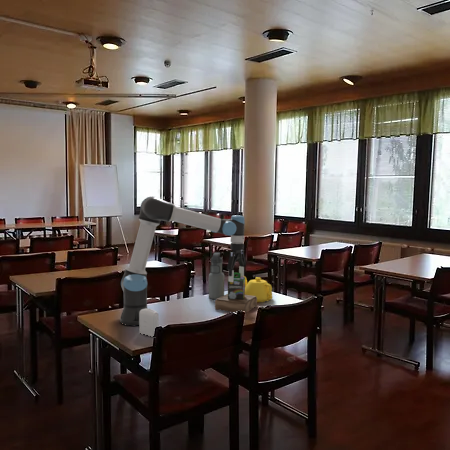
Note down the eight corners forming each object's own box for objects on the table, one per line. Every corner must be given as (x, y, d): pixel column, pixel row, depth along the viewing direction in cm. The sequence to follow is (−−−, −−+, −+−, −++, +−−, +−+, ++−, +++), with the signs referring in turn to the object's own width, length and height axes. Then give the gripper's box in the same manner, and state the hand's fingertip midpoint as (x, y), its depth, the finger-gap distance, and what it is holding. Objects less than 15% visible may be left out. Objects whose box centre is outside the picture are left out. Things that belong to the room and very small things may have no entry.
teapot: (231, 297, 287) (232, 276, 286) (250, 293, 300) (250, 272, 298) (262, 305, 270) (263, 282, 268) (281, 300, 282) (281, 278, 281)
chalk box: (245, 296, 267) (245, 270, 265) (243, 300, 257) (244, 273, 256) (229, 295, 268) (229, 270, 266) (227, 299, 259) (227, 273, 257)
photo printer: (137, 333, 215) (137, 308, 214) (144, 331, 219) (144, 306, 218) (153, 338, 209) (153, 311, 208) (160, 336, 213) (160, 309, 212)
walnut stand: (244, 313, 251) (244, 303, 251) (215, 309, 259) (215, 298, 259) (256, 306, 267) (257, 296, 267) (229, 302, 275) (229, 292, 275)
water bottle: (222, 300, 280) (222, 254, 278) (206, 299, 282) (207, 254, 280) (225, 296, 290) (226, 252, 288) (210, 295, 292) (211, 251, 290)
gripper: (233, 245, 247) (232, 284, 249) (252, 241, 269) (251, 276, 271) (221, 244, 251) (220, 282, 252) (240, 240, 273) (239, 275, 275)
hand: (236, 279), depth 262 cm, fingers open, 13 cm apart
